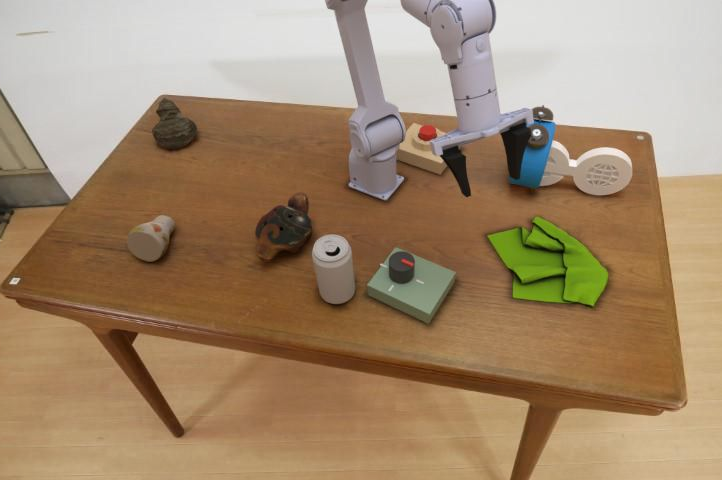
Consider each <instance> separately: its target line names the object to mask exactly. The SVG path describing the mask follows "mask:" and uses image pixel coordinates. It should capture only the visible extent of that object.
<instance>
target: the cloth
mask: <svg viewBox="0 0 722 480" xmlns="http://www.w3.org/2000/svg"><path fill="white" fill-rule="evenodd" d="M531 223H532V224H533V223H534V225H533V227H532V229H531V231H529V230H528V229H526V228H525V227H524V226H518V227H517V228H512V229H508V230H505V231H500V232H496V233H492V234H488V235H486V237H487V239H488V240H489V242H490V244H491V245H492V246H493V248H494V250H495V251H496V253H497V254H498V256H499V257H500V259H501V260H502V262H503V263H504V265H505V266H506V268H507V269H509V270H512V271H513V280H512V281H513V282H512V299H519V300H527V301H536V302H544V303H556V304H567V305H568V304H569V305H571V304H572V303H580V304H583V305H588V306H591V307H595V305H596V303H597V301H598V300H599V298H600V296H601V295H602V294H603V292H604V290H605V288H606V286H607V284H608V281H609V277H610V273H609V271H608V269H607V268H606V267H604V266H602V264H601V263H600V261H599V260H598V259H597V258H596V257H594V255H593V254H592V253H591V252H590V251H589V249H588V248H587V246H585V245H584V244H583V243H581V242H580V241H579V240H578V239H577V238H575V237H573V236H571V235H569V233H568V232H566V231H565V230H563V229H562V228H560V227H557V226H556V225H555V224H554V223H552V222H550V221H548V220H545V219H544V218H542V217H539V216H535V217H534V218H533V220H532V221H531Z"/></svg>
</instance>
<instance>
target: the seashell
mask: <svg viewBox="0 0 722 480" xmlns="http://www.w3.org/2000/svg"><path fill="white" fill-rule="evenodd" d="M161 99H162V100H161V101H159V104H158V107H157V109H156V110H155V113H156V115H157V116H158V118H159V120H158V122H157V123H156V124H155V125H154V126H153V127H152V129H151V133H152V136H153V138H154V140H155V142H157V143H158V146H159V147H162V148H164V149H169V150H178V149H180V148H184V147H186V146H188V145H189V143H191V142H192V141H193V140H194V139H195V136H196V133H197V130H198V128H197V127H198V126H197V125H196V123H195V122H194V120H191V119H190V118H189V117H185V116H183V114H182V112H181V110H180V108H179V107H178V106H177V105H176V104H175V102H174V101H173V100H171V99H168V98H166V97H163V98H161Z"/></svg>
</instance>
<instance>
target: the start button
mask: <svg viewBox="0 0 722 480" xmlns="http://www.w3.org/2000/svg"><path fill="white" fill-rule="evenodd" d="M436 128H437V127H435V126H433V125H431V124H424V125H422V127H421V128H420V130H419V138H420V139H421V140H423V141H430V140H433V139H435V138H436Z"/></svg>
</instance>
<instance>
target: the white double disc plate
mask: <svg viewBox="0 0 722 480" xmlns="http://www.w3.org/2000/svg"><path fill="white" fill-rule="evenodd" d="M565 176H572V178H573V183H574V185H575V186H576V187H577V188H578V189H579V190H580V191H582V192H584V193H586V194H588V195H593V196H607V195H612V194H615V193H617V192H620V191H621V190H624V189H625V188H627V186H628V185H629V183H630V182H631V180H632V177H633V163H632V160H631V157H630V156H629V155H628V154H627V153H626V152H624V151H622V150H620V149H618V148H615V147H608V146H607V147H603V146H602V147H596V148H593V149H590V150H588V151H586V152H584V153H582V154H581V155H580V156H579V157H578V158H576V159H572V158H570V154H569V151H568V149H567V148H566V147H565V146H564V145H563V144H562V143H560V142H559V141H558V140H554V139H553V141H552V145H551V149H550V153H549V156H548V160H547V164H546V167H545V170H544V174H543V177H542V180H541V183H540V185H539V187H545V186H551V185H553V184H556V183H558V182H560V181H561V180H562V179H564V178H565Z"/></svg>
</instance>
